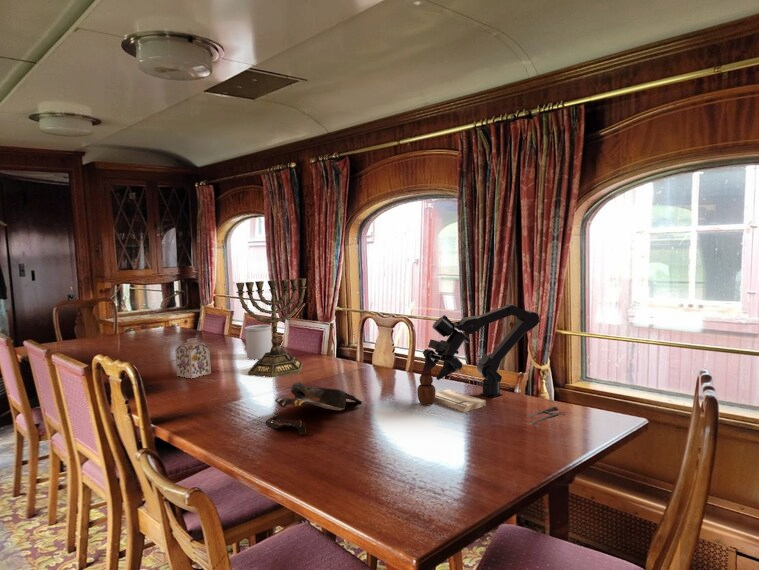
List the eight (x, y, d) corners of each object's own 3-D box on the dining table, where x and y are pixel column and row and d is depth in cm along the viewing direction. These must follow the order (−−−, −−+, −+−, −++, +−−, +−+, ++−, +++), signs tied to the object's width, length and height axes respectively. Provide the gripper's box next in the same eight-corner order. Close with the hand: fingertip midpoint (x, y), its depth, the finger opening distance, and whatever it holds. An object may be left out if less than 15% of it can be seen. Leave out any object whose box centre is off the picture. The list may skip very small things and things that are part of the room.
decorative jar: (211, 373, 250) (209, 337, 249) (191, 379, 241) (189, 341, 239) (196, 371, 257) (194, 336, 256) (175, 376, 247) (173, 340, 246)
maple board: (448, 394, 204) (448, 388, 204) (485, 405, 188) (485, 400, 187) (427, 399, 197) (427, 394, 197) (464, 412, 181) (464, 406, 181)
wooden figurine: (437, 402, 193) (436, 363, 192) (433, 407, 188) (432, 367, 187) (419, 401, 196) (418, 362, 195) (416, 405, 190) (415, 366, 189)
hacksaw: (554, 409, 183) (554, 405, 183) (579, 416, 174) (579, 412, 174) (506, 423, 170) (506, 418, 170) (529, 431, 162) (529, 427, 161)
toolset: (320, 392, 208) (365, 357, 197) (341, 436, 201) (390, 402, 190) (247, 405, 175) (296, 364, 164) (269, 458, 167) (323, 419, 157)
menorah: (298, 360, 274) (295, 277, 271) (320, 368, 254) (316, 279, 250) (232, 371, 254) (227, 281, 251) (250, 381, 233) (245, 284, 230)
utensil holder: (241, 360, 280) (239, 328, 279) (252, 354, 295) (251, 324, 294) (266, 360, 278) (265, 328, 277) (276, 354, 293) (275, 324, 291)
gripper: (426, 328, 202) (403, 359, 197) (456, 334, 186) (432, 368, 181) (442, 345, 206) (420, 376, 201) (472, 353, 190) (449, 387, 185)
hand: (429, 376), depth 192 cm, fingers open, 9 cm apart
